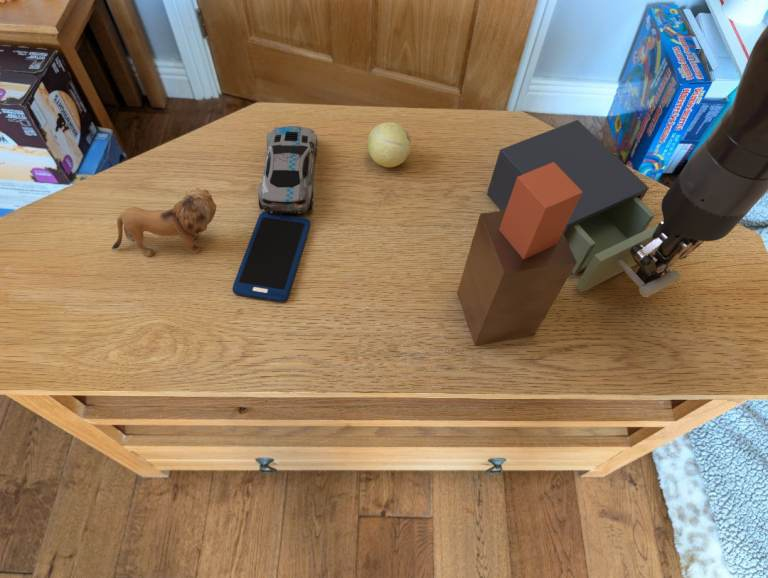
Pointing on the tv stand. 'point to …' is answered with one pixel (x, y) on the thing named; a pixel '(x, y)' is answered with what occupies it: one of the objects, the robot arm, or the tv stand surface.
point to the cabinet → (569, 170)
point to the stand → (509, 284)
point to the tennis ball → (389, 144)
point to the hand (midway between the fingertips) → (643, 280)
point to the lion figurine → (169, 221)
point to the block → (539, 209)
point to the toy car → (288, 171)
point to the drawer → (614, 246)
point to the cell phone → (272, 257)
